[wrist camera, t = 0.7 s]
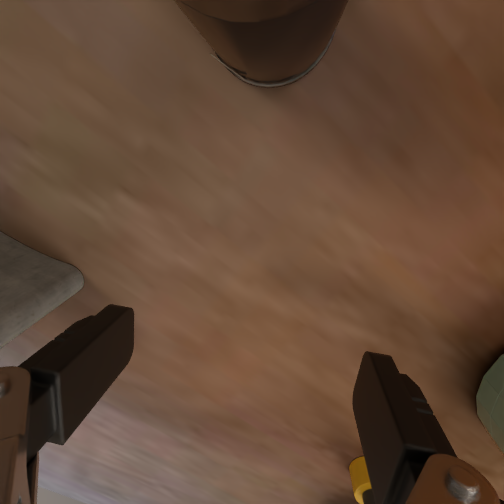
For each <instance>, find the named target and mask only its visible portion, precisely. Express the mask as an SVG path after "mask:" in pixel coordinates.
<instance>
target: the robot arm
mask: <svg viewBox="0 0 504 504" xmlns="http://www.w3.org/2000/svg"><path fill="white" fill-rule="evenodd" d="M174 1H175V3H176V4H177V5H178V6H179V7H180V9H181V10H182V11H183V12H184V14H185V15H186V16H187V17H188V19H189V20H190V21H191V22H192V24H193V25H194V26H195V27H196V29H197V30H198V31H199V32H200V34H201V35H202V36H203V37H204V39H205V40H206V41H207V42H208V43H209V45H210V46H211V47H212V49H213V50H214V51H215V53H216V54H217V56H218V58H219V59H220V60H218V59H217V58H216V57H214V56H213V55H212V54H211V55H212V56H213V57H214V58H215V59H217V60H218V61H219V62H220V63H222V64H223V65H224V66H225V67H226V68H227V69H228V70H229V71H230V72H231V73H232V74H233V75H234V76H236V77H237V78H239V79H240V80H242V81H244V82H246V83H248V84H250V85H253V86H257V87H263V88H275V87H281V86H285V85H288V84H291V83H293V82H295V81H297V80H299V79H301V78H302V77H304V76H305V75H306V74H308V73H309V72H310V71H311V70H312V69H313V68H314V67H315V66H316V65H317V64H318V63H319V61H320V60H321V59H322V57H323V56H324V54H325V53H326V51H327V49H328V47H329V45H330V43H331V41H332V38H333V36H334V33H335V30H336V27H337V24H338V22H339V20H340V18H341V16H342V13H343V11H344V9H345V7H346V4H347V2H348V0H174ZM133 347H134V311H133V309H132V308H129V307H124V306H118V305H113V304H110V305H108V306H107V307H105V308H104V309H103V310H102V311H100V312H99V313H98V314H97V315H95V316H92V315H91V316H89V317H87V318H84V319H82V320H79V321H77V322H75V323H74V324H73V325H71V326H70V327H69V328H67V329H66V330H65V331H64V333H61V334H60V335H58V336H57V337H56V338H55V339H54V340H52V341H50V342H49V343H48V344H46V345H45V346H44V347H43V348H41V349H40V350H39V351H37V352H36V353H35V354H33V355H32V356H31V357H30V358H28V359H27V360H26V361H24V362H23V363H22V364H20V365H19V366H18V367H14V366H9V367H0V504H37V488H38V471H39V450H40V449H41V448H42V447H43V445H44V444H45V443H46V442H51V443H55V444H59V445H64V443H65V442H66V441H67V440H68V438H69V437H70V436H71V435H72V433H73V432H74V431H75V430H76V428H77V427H78V426H79V425H80V423H81V422H82V421H83V419H84V418H85V417H86V416H87V414H88V413H89V412H90V411H91V409H92V408H93V407H94V406H95V404H96V403H97V402H98V401H99V399H100V398H101V397H102V396H103V394H104V393H105V392H106V391H107V389H108V388H109V387H110V386H111V384H112V383H113V382H114V381H115V379H116V378H117V377H118V375H119V374H120V373H121V372H122V370H123V369H124V368H125V367H126V365H127V364H128V362H129V361H130V358H131V356H132V353H133ZM353 411H354V415H355V420H356V424H357V428H358V432H359V437H360V441H361V445H362V449H363V454H364V458H365V462H366V466H367V471H368V475H369V479H370V484H371V488H372V492H373V496H374V501H375V504H504V501H503V500H501V499H499V497H498V495H497V493H496V491H495V489H494V488H493V487H492V485H491V484H490V483H489V481H488V480H487V479H486V478H485V477H484V476H483V475H482V474H481V473H480V472H479V471H477V470H476V469H475V468H474V467H472V466H471V465H469V464H468V463H466V462H465V461H463V460H461V459H459V458H458V457H457V456H456V454H455V452H454V450H453V448H452V446H451V445H450V443H449V441H448V439H447V437H446V435H445V433H444V432H443V430H442V428H441V426H440V424H439V422H438V421H437V419H436V417H435V416H434V415H433V411H432V410H431V408H430V406H429V404H427V400H426V398H425V397H424V395H423V393H422V391H421V389H420V387H419V386H418V385H417V384H416V383H415V382H414V381H412V380H411V379H410V378H409V377H408V376H407V375H406V374H400V373H399V371H398V369H397V367H396V365H395V363H394V361H393V359H392V357H391V356H389V355H384V354H379V353H373V352H368V351H366V352H365V353H364V355H363V358H362V362H361V365H360V369H359V372H358V376H357V380H356V383H355V387H354V391H353Z"/></svg>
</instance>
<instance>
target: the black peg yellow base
mask: <svg viewBox="0 0 504 504" xmlns="http://www.w3.org/2000/svg"><path fill="white" fill-rule="evenodd" d="M349 471H350V476H351V481H352V486H353V492H354V497H355V499H356V501H357V502H358V503H359V504H375V501H374V496H373V492H372V488H371V484H370V479H369V475H368V471H367V466H366V462H365V458H364V456H363V457H359V458H356V459H355V460H353V461H352V462H351V464H350V466H349Z"/></svg>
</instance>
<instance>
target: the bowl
mask: <svg viewBox="0 0 504 504" xmlns="http://www.w3.org/2000/svg"><path fill="white" fill-rule="evenodd" d="M476 401H477V415H478V417H479V419H480V421H481V423H482V424H483V426H484V428H485V430H486V432H487V433H488V435H489V436H490V437H491V439H492V440H493V442H494V443H495V445H496V446H497V448H498V449H499V451H500V452H501V453H502V455H503V456H504V354H503V355H501V356H500V357H499V358H498V359H497V361H496V362H495V363H494V364H493V365H492V367H491V368H490V369H489V370H488V372H487V373H486V374H485V375H484V376H483V379H482V382H481V384H480V387H479V390H478V393H477V395H476Z"/></svg>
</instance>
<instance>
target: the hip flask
mask: <svg viewBox="0 0 504 504" xmlns="http://www.w3.org/2000/svg"><path fill="white" fill-rule="evenodd" d="M83 285H84V279H83V276H82V274H81V272H80V271H79V270H78V269H77V268H76V267H74V266H72V265H70V264H67V263H64V262H61V261H59V260H56V259H53V258H51V257H49V256H46V255H44V254H42V253H40V252H38V251H35V250H33V249H31V248H29V247H27V246H25V245H23V244H22V243H20V242H18V241H16V240H14V239H13V238H11V237H9V236H7V235H5V234H4V233H2V232H0V348H2V347H3V346H4V345H6V344H7V343H9V342H10V341H11V340H13V339H14V338H15V337H17V336H18V335H19V334H21V333H22V332H24V331H25V330H26V329H28V328H29V327H30V326H32V325H33V324H34V323H36V322H37V321H39V320H40V319H41V318H43V317H44V316H45V315H47V314H48V313H49V312H51V311H52V310H54V309H55V308H56V307H58V306H59V305H60V304H62V303H63V302H64V301H66V300H67V299H69V298H70V297H71V296H73V295H74V294H75V293H77V292H78V291H79V290H81V289H82V287H83Z"/></svg>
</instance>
